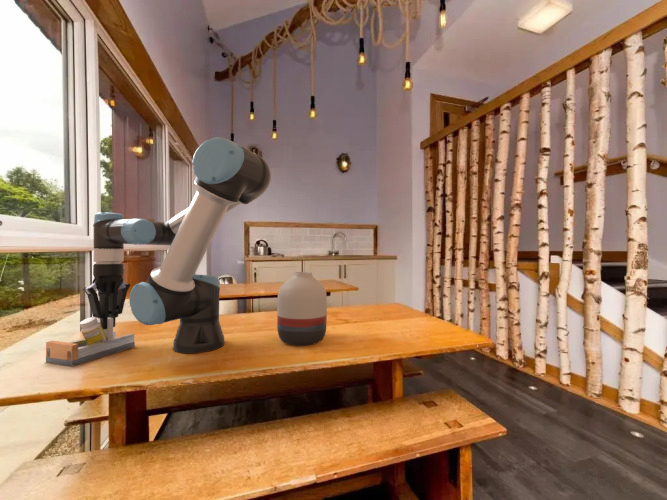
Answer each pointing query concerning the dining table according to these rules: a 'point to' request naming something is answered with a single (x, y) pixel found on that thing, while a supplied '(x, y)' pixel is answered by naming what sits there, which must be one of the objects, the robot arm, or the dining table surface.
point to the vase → (302, 310)
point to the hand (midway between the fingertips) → (107, 338)
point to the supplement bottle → (92, 331)
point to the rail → (85, 350)
